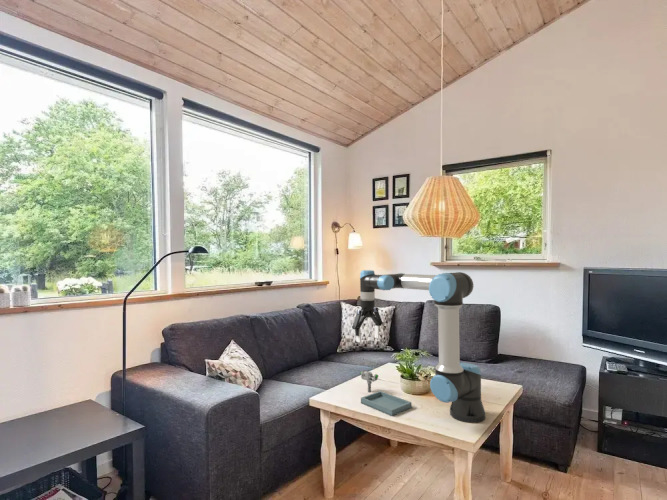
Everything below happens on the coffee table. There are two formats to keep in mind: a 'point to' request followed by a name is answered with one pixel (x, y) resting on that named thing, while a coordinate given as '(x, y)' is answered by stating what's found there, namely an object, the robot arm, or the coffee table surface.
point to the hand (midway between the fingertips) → (367, 339)
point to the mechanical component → (368, 378)
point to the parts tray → (386, 403)
